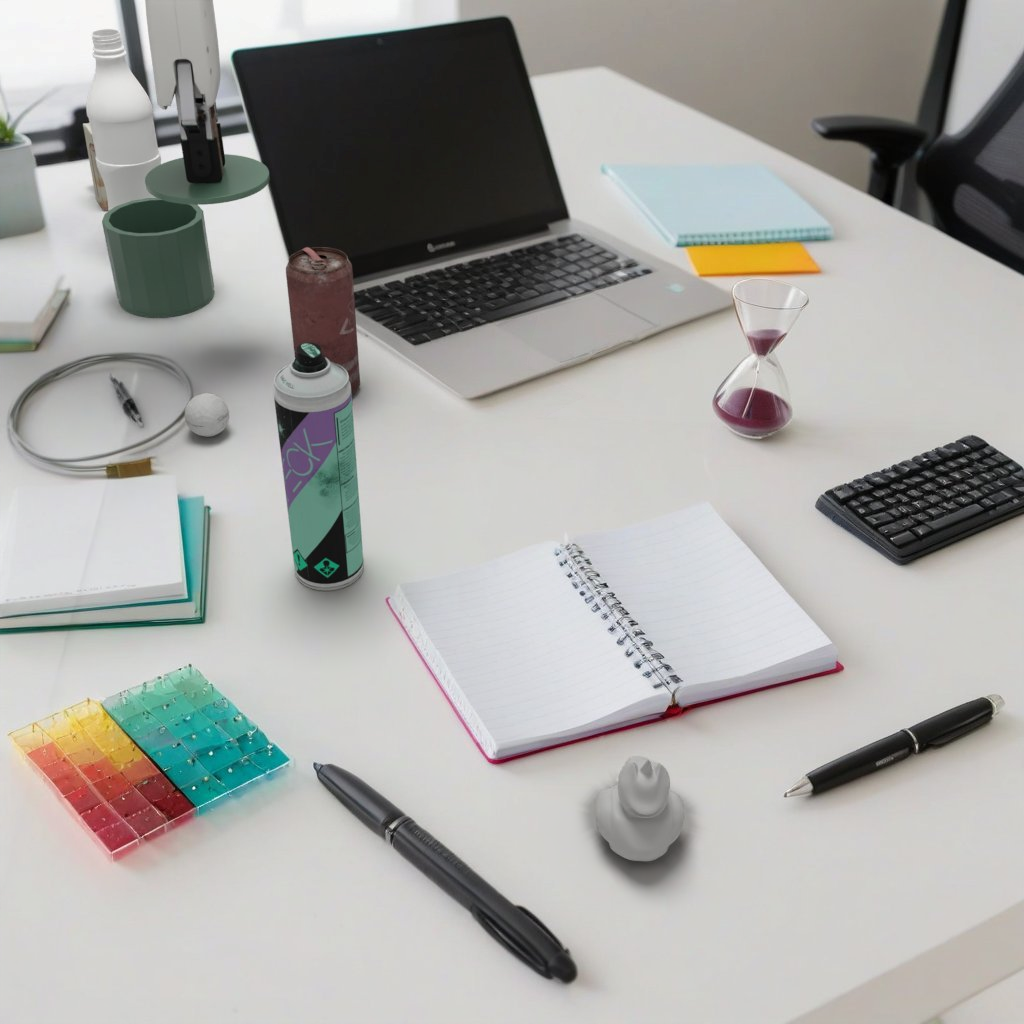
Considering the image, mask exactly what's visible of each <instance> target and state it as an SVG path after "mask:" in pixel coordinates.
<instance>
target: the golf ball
mask: <svg viewBox="0 0 1024 1024" xmlns="http://www.w3.org/2000/svg"><path fill="white" fill-rule="evenodd" d="M184 420H185V422H186V425H187V427H188V428H189V429H190V430H191V431H192V432H193V433H194V434H196V435H197V436H200V437H207V438H208V437H214V436H217V435H219V434H220V433H222V432H223V431H224V430H225V429H226V427H227V425H228V424H229V422H230V410H229V407H228V405H227V404H226V402H225V401H224V400H223V398H221V397H220V396H218V395H216V394H214V393H209V392H208V393H207V392H205V393H200V394H197V395H195V396H193V397H192V398H191V399H190V400H189V401H188V403H187V405H186V406H185V409H184Z"/></svg>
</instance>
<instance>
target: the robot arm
mask: <svg viewBox="0 0 1024 1024" xmlns="http://www.w3.org/2000/svg"><path fill="white" fill-rule="evenodd" d="M144 1H145V3H144V4H145V14H146V24H147V34H148V35H147V36H148V41H149V50H150V57H151V63H152V64H151V65H152V71H153V80H154V88H155V95H156V103H157V105H158V107H159V108H160V109H162V110H165V111H166V110H167V109H168V108H169V107H171V106H172V104H173V101H174V98H175V103H176V111H177V117H178V125H179V132H180V145H181V146H180V147H181V153H182V158H183V159H184V165H185V172H186V178H187V181H188V182H190V183H207V182H220V181H221V180H222V169H221V161H220V154H219V147H218V140H217V137H214V135H213V127H212V119H211V113H214V114H215V115H216V121H217V128H218V135H219V143H220V150H221V157H222V164H223V166H224V165H225V155H224V154H225V148H224V142H223V141H224V140H223V134H222V126H221V123H220V122H219V116H218V109H217V108H218V107H217V102H216V100H217V97H218V92H219V89H220V83H221V62H220V49H219V47H220V46H219V38H218V29H217V22H216V14H215V6H214V0H144ZM197 112H203V114H204V119H203V117H202V116H198V113H197ZM204 122H205V123H204Z"/></svg>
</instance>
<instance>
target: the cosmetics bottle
mask: <svg viewBox="0 0 1024 1024" xmlns="http://www.w3.org/2000/svg"><path fill="white" fill-rule="evenodd" d="M82 127H83V132H84V138H85V139H84V140H85V144H86V149H87V155H88V161H89V167H90V173H91V178H92V184H93V189H94V196H95V200H96V202H97V203H98V205H99V206H100V208H101V209H102V210H103V211H108V199H107V193H106V189H105V185H104V182H103V179H102V177H101V174H100V172H99V170H98V168H97V164H96V159H95V157H96V153H95V148H94V143H93V137H92V132H91V127H90V122H86V123H82Z"/></svg>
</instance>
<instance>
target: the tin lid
mask: <svg viewBox="0 0 1024 1024" xmlns="http://www.w3.org/2000/svg"><path fill="white" fill-rule="evenodd" d="M197 113H198V116H202V117H203V119H204V114H203V112H197ZM211 119H212V127H213V135H214V137H217V140H218V147H219V154H220V161H221V169H222V180H221V181H220V182H207V183H190V182H188V181H187V178H186V172H185V165H184V159H183V157H179V158H175V159H172V160H169V161H166V162H163V163H161V165H159V166H157V167H155V168H153V169H152V170H151V171H150V172H149V173H148V174H147V175H146V177H145V184H146V189H147V190H148V192H149V193H150V194H151V195H153V196H154V197H156V198H159V199H161V200H164V201H168V202H173V203H179V204H192V205H198V206H199V205H201V206H204V205H216V204H224V203H229V202H234V201H239V200H242V199H246V198H248V197H252V196H253V195H255V194H257V193H259V192H261V191H262V190H264V189H265V188H266V186H268V184H269V183H270V181H271V177H270V170H269V167H267V165H265V164H264V163H263V162H261V161H259V160H257V159H254V158H251V157H248V156H244V155H239V154H238V155H237V154H228V153H227V154H226V153H224V155H225V165H224V166H223V164H222V157H221V150H220V143H219V135H218V128H217V123H218V122H217V121H216V115H215V114H214V113H211ZM204 123H205V122H204Z"/></svg>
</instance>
